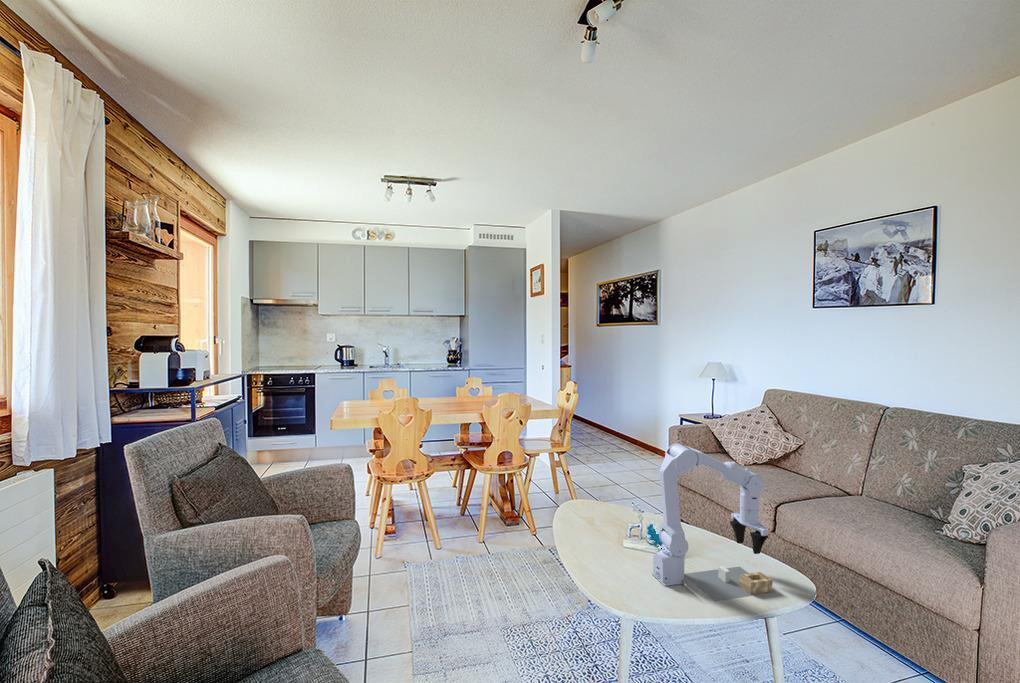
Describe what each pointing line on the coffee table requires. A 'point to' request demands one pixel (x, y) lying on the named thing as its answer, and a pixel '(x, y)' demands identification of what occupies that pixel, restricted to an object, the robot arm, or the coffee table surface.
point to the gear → (653, 535)
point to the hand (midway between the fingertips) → (748, 547)
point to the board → (721, 583)
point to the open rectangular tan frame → (755, 583)
